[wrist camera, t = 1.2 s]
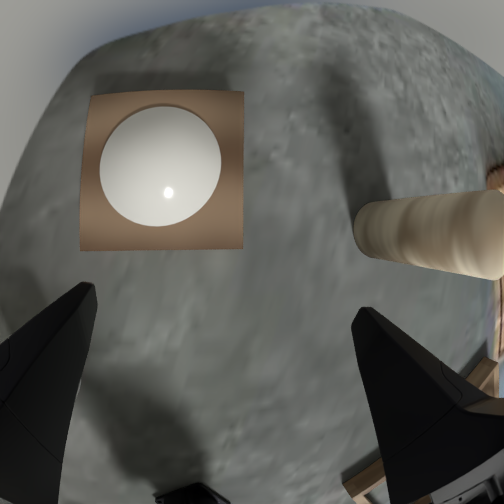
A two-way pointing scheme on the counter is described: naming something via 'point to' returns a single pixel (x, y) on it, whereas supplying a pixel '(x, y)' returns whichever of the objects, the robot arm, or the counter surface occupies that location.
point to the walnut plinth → (163, 171)
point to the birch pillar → (437, 232)
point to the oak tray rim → (374, 475)
